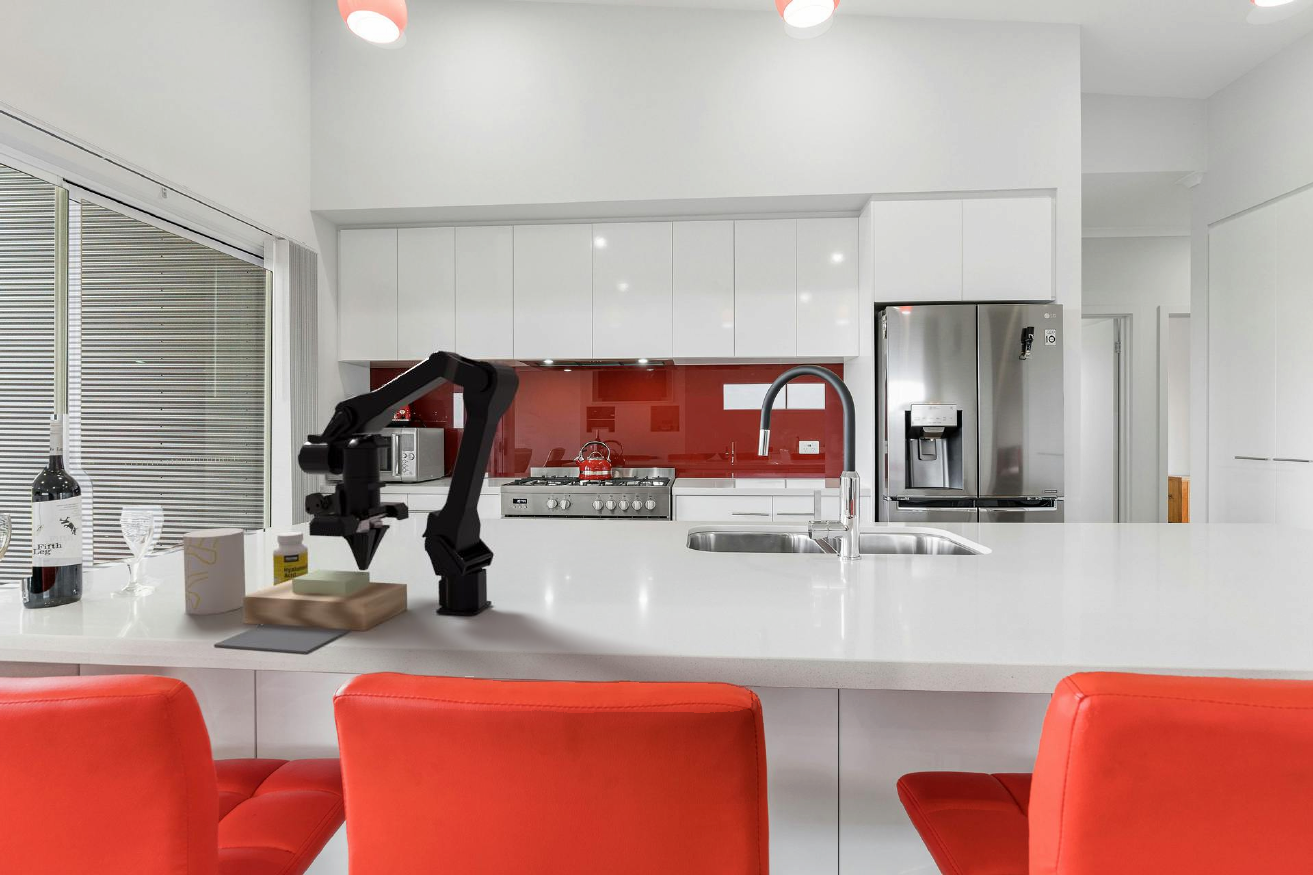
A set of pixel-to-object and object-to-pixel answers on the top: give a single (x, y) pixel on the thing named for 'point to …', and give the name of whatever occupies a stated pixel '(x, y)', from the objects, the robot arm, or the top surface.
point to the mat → (283, 638)
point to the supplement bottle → (289, 557)
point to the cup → (214, 570)
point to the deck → (325, 606)
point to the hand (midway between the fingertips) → (363, 569)
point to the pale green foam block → (331, 582)
